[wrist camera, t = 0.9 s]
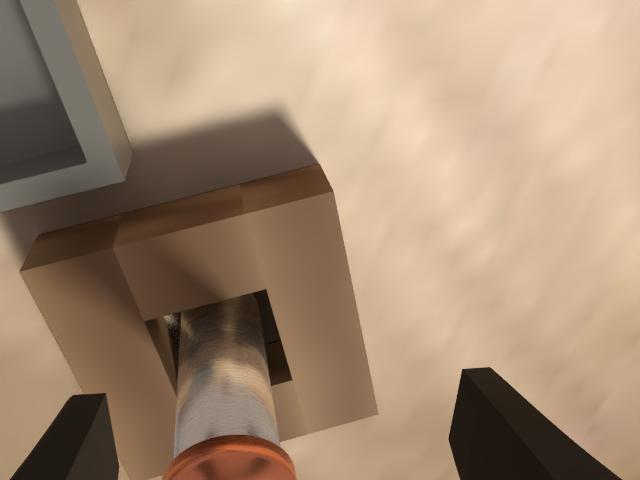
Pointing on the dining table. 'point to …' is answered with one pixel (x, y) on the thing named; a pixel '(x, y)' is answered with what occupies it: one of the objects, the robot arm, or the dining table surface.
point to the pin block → (201, 289)
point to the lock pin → (225, 398)
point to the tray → (54, 107)
